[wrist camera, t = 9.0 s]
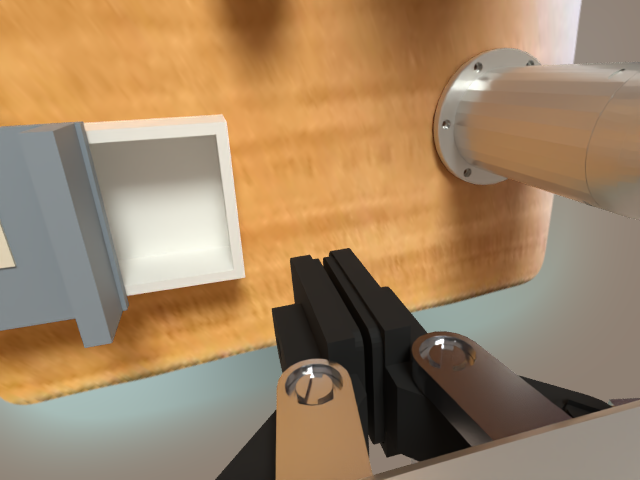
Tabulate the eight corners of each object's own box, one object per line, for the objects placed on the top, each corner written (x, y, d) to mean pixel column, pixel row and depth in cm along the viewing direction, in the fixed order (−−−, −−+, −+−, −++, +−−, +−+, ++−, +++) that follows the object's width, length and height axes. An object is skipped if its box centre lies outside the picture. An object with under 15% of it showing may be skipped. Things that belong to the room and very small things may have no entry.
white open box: (222, 114, 33) (226, 121, 28) (238, 249, 38) (245, 277, 32) (28, 126, 30) (-9, 137, 25) (72, 272, 34) (48, 307, 29)
